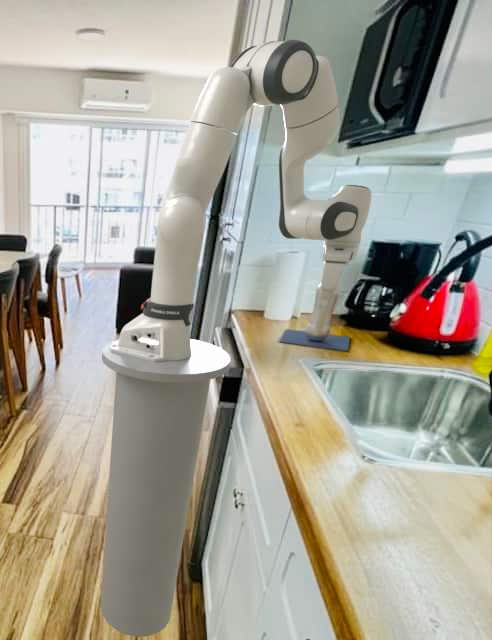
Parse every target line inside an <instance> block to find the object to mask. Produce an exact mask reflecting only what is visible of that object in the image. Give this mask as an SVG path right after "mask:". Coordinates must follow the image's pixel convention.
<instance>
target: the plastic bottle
mask: <svg viewBox="0 0 492 640" xmlns="http://www.w3.org/2000/svg"><path fill="white" fill-rule="evenodd" d="M323 292H324V291H322V290H321V283H320V284H318V286H317V287H316V289H315V298H314V299H315V300H314V304H313V310H312V314H311V316H310V320H309V322H308V323H307V326H306V329H305V332H306V333H305V335H306V338H308V339H311V340H314V341H322V340H325V339H326V338H327V337H328V335H330V330H331V322H332V316H333V313H334V309H335V307H336V304H337V303H338V299H339V297H340V295H341V292H342V287H341V283H340V282H339V283H338V285H337V288H336V290H335V291H334V292H332V294H331V296H330V299H329V303H328V305H321V302H322V298H323Z"/></svg>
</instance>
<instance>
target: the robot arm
mask: <svg viewBox="0 0 492 640" xmlns="http://www.w3.org/2000/svg"><path fill="white" fill-rule="evenodd" d="M276 105H277V106H280V107H281V109H282V114H283V123H284V130H285V141H284V143H283V145H282V147H281V149H280V152H279V157H278V176H279V177H278V179H279V202H280V203H279V204H280V205H279V208H280V209H279V216H278V229H279V231H280V233H281V235H282V236H283V237H284V238H286V239H287V240H290V239H291V240H292V239H293V240H294V239H297V240H298V239H299V240H300V239H304V240H313V241H315V240H317V241H323V244H322V248H321V252H320V256H319V258H321V259H322V261H323V268H322V273H321V281H320V284H321V290H322V291H324V292H323V298H322V302H321V305H328V303H329V299H330V296H331V294H332V292H334V291H335V290H336V288H337V285H338V283H340V280H341V278H342V277H343V273H344V270H345V269H346V267H348V266H349V264H350V262H351V261H354V260H356V258H357V256H358V252H359V248H360V245H361V241H362V232H363V229H364V227H365V225H366V223H367V220H368V217H369V213H370V208H371V202H372V190H371V189H370V188H369V187H367V186H364V185H357V184H345V185H343V186H341V187H340V189H339V191H338V192H337V193H336V194H334V195H333V196H331V197H328V198H327V199H310V198H308V197H307V196H306V194H305V177H304V176H305V171H304V170H305V164H306V162H308V161H309V160H311V159H313V158H314V157H316V156H317V155H320V153H322V152H324V150H325V149H327V148H328V147H329V146H330V145H331V143H332V142H333V141H334V139H335V138H336V136H337V133H338V132H339V128H340V120H341V119H340V118H341V115H340V107H339V98H338V90H337V86H336V82H335V77H334V74H333V70H332V67H331V64H330V62H329V60H328V59H327V58H326V57H325V56H322V55H318V54H317V55H316V53H315V51H314V50H313V48H312V46H311V45H309V44H308V43H307V42H305V41H302V40H299V39H288V40H281V41H279V40H271V41H268V42H263V43H261V44H258V45H253V46H249V47H248V48H246V49H245V50H243V51H241V52H240V53H239V55H237V56H236V57H235V59H234V60H233V61H232V62H231V64H230V66H225V67H222V68H221V67H220V68H219V69H218V68H217V70H215V71H214V72H213V73H212V74H210V76H209V78H208V79H207V82H206V84H205V85H204V88H203V90H202V91H201V93H200V96H199V98H198V101H197V103H196V105H195V108H194V110H193V113H192V116H191V118H190V121H189V124H188V127H187V130H186V133H185V136H184V139H183V143H182V145H181V148H180V151H179V154H178V157H177V160H176V163H175V166H174V169H173V172H172V175H171V178H170V182H169V184H168V186H167V190H166V193H165V196H164V199H163V201H162V205H161V207H160V211H159V214H158V218H157V219H158V220H157V227H156V237H155V248H154V258H153V259H154V260H153V268H152V277H151V289H150V297H149V298H146V301H143V303H142V304H141V307H140V310H142V313H140V314H139V315H138V316H136V317H135V318H133V319H132V320H131V321H129V322H128V323H126V324H125V325H124V326H123V327H122V329H121V331H120V333H119V337H118V339H119V340H118V339H116V340H117V341H115V340H114V341H115V342H114V343H113V344H112V345H111V348H110V350H111V351H112V352H115V353H119V354H123V355H127V356H131V357H135V358H139V359H143V360H147V361H151V362H162V361H175V360H183V359H187V358H189V357H190V356H191V355H192V353H191V347H190V339H191V325H192V322H193V318H194V312H195V302H194V297H195V296H194V295H195V288H196V281H197V274H198V268H199V263H200V258H201V253H202V249H203V243H204V237H205V236H204V235H205V231H206V224H207V215H206V214H207V211H208V209H209V206H210V204H211V201H212V199H213V196H214V195H215V192H216V190H217V187H218V185H219V183H220V181H221V179H222V177H223V174H224V172H225V169H226V167H227V164H228V161H229V158H230V156H231V153H232V151H233V148H234V146H235V143H236V140H237V137H238V135H239V132H240V130H241V127H242V123H243V121H244V118H245V116H246V115H247V113H248V112H249V110H250V109H251V108H252V106H257V107H270V106H276Z"/></svg>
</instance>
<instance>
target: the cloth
mask: <svg viewBox="0 0 492 640" xmlns="http://www.w3.org/2000/svg"><path fill="white" fill-rule="evenodd" d="M305 333H306V331H303V330H297V329H296V330H295V329H286V331H285V333H284V335H283V336H282V337H281V339H280V341H279V343H281V344H289V345H297V346H304V347H312V348H319V349H326V350H332V351H340V352H348V351H349V345H350V339H351V337H350V336H344V335H343V336H341V335H334V334H329V335H328V337H327V338H326V339H325V340H322V341H314V340H311V339H308V338H306V335H305Z"/></svg>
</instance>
